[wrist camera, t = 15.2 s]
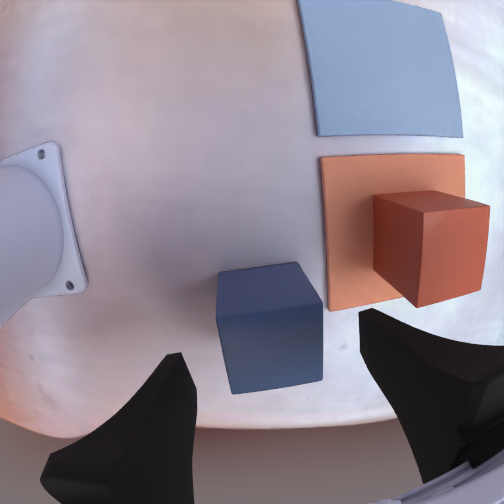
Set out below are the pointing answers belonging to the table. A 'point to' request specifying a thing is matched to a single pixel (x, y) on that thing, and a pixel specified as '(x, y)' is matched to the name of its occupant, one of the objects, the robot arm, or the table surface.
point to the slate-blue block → (269, 328)
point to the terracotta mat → (361, 215)
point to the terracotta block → (430, 244)
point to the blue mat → (380, 69)
